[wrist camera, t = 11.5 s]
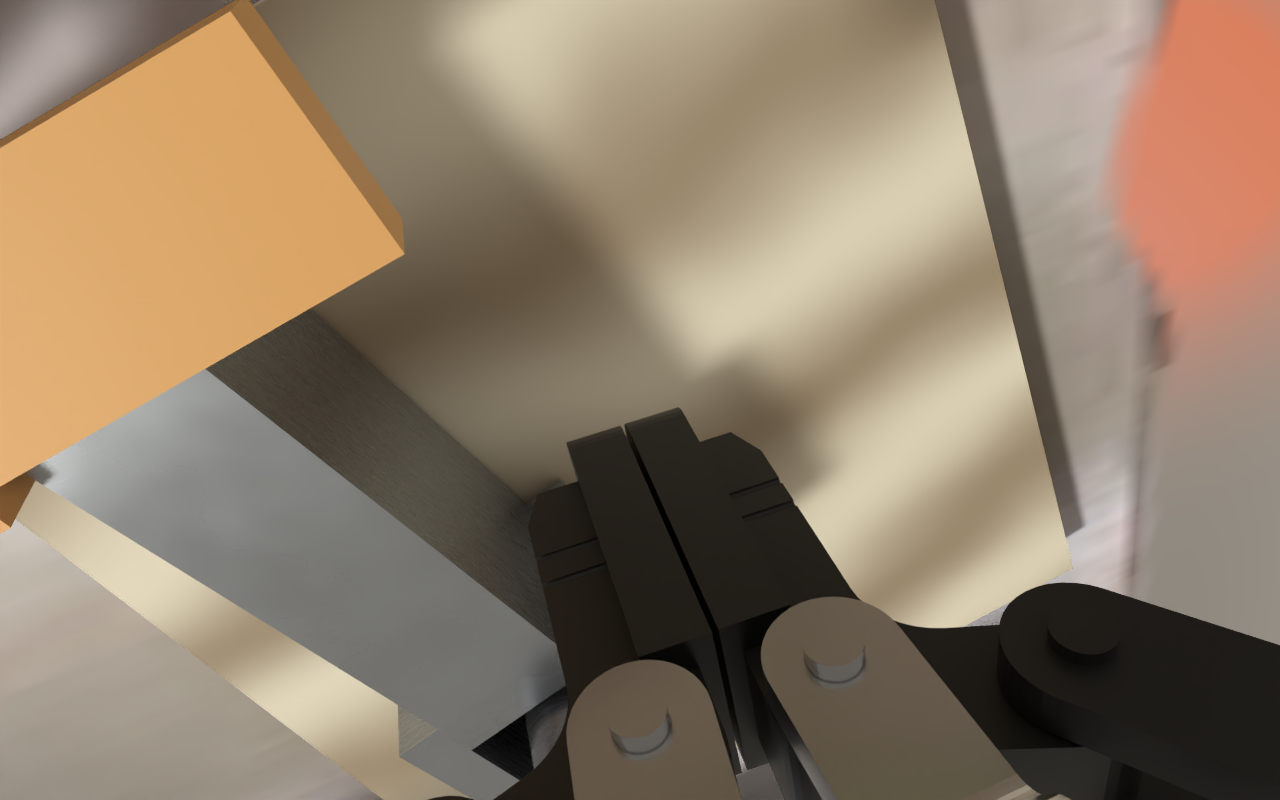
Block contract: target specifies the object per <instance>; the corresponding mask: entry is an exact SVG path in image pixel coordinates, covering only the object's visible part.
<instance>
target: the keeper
mask: <svg viewBox="0 0 1280 800" xmlns="http://www.w3.org/2000/svg"><path fill="white" fill-rule="evenodd" d="M404 254H405V250H404V236H403V222H402V218H401V216H400V215H399V213H398V212H397V210H396V209H395V208H394V206H393V205H392V203H391V202H390V200H389V199H388V198H387V196H386V195H385V193H384V192H383V190H382V189H381V188H380V186H379V185H378V183H377V182H376V180H375V179H374V178H373V176H372V175H371V173H370V172H369V171H368V169H367V168H366V166H365V165H364V163H363V162H362V161H361V159H360V158H359V156H358V155H357V153H356V152H355V151H354V149H353V148H352V146H351V145H350V143H349V142H348V141H347V139H346V138H345V136H344V135H343V133H342V132H341V131H340V129H339V128H338V126H337V125H336V123H335V122H334V121H333V119H332V118H331V116H330V115H329V113H328V112H327V111H326V109H325V108H324V106H323V105H322V103H321V102H320V101H319V99H318V98H317V96H316V95H315V93H314V92H313V91H312V89H311V88H310V86H309V85H308V83H307V82H306V81H305V79H304V78H303V76H302V75H301V73H300V72H299V71H298V69H297V68H296V66H295V65H294V63H293V62H292V61H291V59H290V58H289V56H288V55H287V53H286V52H285V51H284V49H283V48H282V46H281V45H280V43H279V42H278V41H277V39H276V38H275V36H274V35H273V33H272V32H271V31H270V29H269V28H268V26H267V25H266V24H265V22H264V21H263V19H262V18H261V16H260V15H259V14H258V12H257V11H256V9H255V8H254V6H253V5H252V4H251V2H250V1H249V0H234V1H233V2H231V3H229V4H228V5H226V6H224V7H223V8H221V9H219V10H218V11H216V12H214V13H213V14H211V15H209V16H208V17H206V18H204V19H203V20H201V21H199V22H197V23H196V24H194V25H192V26H191V27H189V28H187V29H186V30H184V31H182V32H181V33H179V34H177V35H176V36H174V37H172V38H171V39H169V40H167V41H166V42H164V43H162V44H161V45H159V46H157V47H156V48H154V49H152V50H150V51H149V52H147V53H145V54H144V55H142V56H140V57H139V58H137V59H135V60H134V61H132V62H130V63H129V64H127V65H125V66H124V67H122V68H120V69H119V70H117V71H115V72H114V73H112V74H110V75H109V76H107V77H105V78H103V79H102V80H100V81H98V82H97V83H95V84H93V85H92V86H90V87H88V88H87V89H85V90H83V91H82V92H80V93H78V94H77V95H75V96H73V97H72V98H70V99H68V100H67V101H65V102H63V103H62V104H60V105H58V106H56V107H55V108H53V109H51V110H50V111H48V112H46V113H45V114H43V115H41V116H40V117H38V118H36V119H35V120H33V121H31V122H30V123H28V124H26V125H25V126H23V127H21V128H20V129H18V130H16V131H15V132H13V133H11V134H9V135H8V136H6V137H4V138H3V139H1V140H0V533H2V532H4V531H5V530H7V529H9V528H11V526H12V524H13V522H14V520H15V518H16V516H17V515H18V513H19V511H20V509H21V507H22V505H23V503H24V501H25V500H26V498H27V496H28V494H29V492H30V490H31V488H32V486H33V485H34V483H35V480H34V479H32V478H31V477H29V476H27V475H26V474H24V473H25V472H26V471H28V470H30V469H32V468H33V467H35V466H37V465H39V464H40V463H42V462H44V461H45V460H47V459H49V458H51V457H52V456H54V455H56V454H58V453H59V452H61V451H63V450H65V449H66V448H68V447H70V446H72V445H73V444H75V443H77V442H79V441H80V440H82V439H84V438H86V437H87V436H89V435H91V434H92V433H94V432H96V431H98V430H99V429H101V428H103V427H105V426H106V425H108V424H110V423H112V422H113V421H115V420H117V419H119V418H120V417H122V416H124V415H126V414H127V413H129V412H131V411H133V410H134V409H136V408H138V407H139V406H141V405H143V404H145V403H146V402H148V401H150V400H152V399H153V398H155V397H157V396H159V395H160V394H162V393H164V392H166V391H167V390H169V389H171V388H173V387H174V386H176V385H178V384H179V383H181V382H183V381H185V380H186V379H188V378H190V377H192V376H193V375H195V374H197V373H199V372H200V371H202V370H204V369H206V368H207V367H209V366H211V365H213V364H214V363H216V362H218V361H220V360H221V359H223V358H225V357H226V356H228V355H230V354H232V353H233V352H235V351H237V350H239V349H240V348H242V347H244V346H246V345H247V344H249V343H251V342H253V341H254V340H256V339H258V338H260V337H261V336H263V335H265V334H267V333H268V332H270V331H272V330H273V329H275V328H277V327H279V326H280V325H282V324H284V323H286V322H287V321H289V320H291V319H293V318H294V317H296V316H298V315H300V314H301V313H303V312H305V311H307V310H308V309H310V308H312V307H313V306H315V305H317V304H319V303H320V302H322V301H324V300H326V299H327V298H329V297H331V296H333V295H334V294H336V293H338V292H340V291H341V290H343V289H345V288H347V287H348V286H350V285H352V284H354V283H355V282H357V281H359V280H360V279H362V278H364V277H366V276H367V275H369V274H371V273H373V272H374V271H376V270H378V269H380V268H381V267H383V266H385V265H387V264H388V263H390V262H392V261H394V260H395V259H397V258H399V257H401V256H402V255H404Z"/></svg>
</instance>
